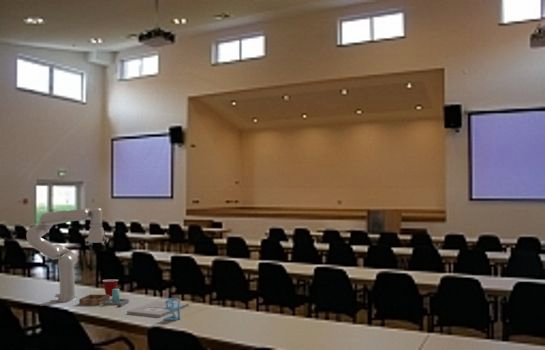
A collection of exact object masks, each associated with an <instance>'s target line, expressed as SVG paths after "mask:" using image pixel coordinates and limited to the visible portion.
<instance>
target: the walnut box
mask: <svg viewBox="0 0 545 350" xmlns="http://www.w3.org/2000/svg"><path fill="white" fill-rule="evenodd" d="M110 299H111V296H110V295H106V294H100V293H99V294H97V293H96V294H87V295H85V296H83V297H81V298H79V306H101V305H103V303H104V302H106V301H108V300H110Z"/></svg>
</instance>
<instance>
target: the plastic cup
mask: <svg viewBox="0 0 545 350" xmlns="http://www.w3.org/2000/svg"><path fill="white" fill-rule="evenodd" d="M118 282H119V279H114V278H113V279H103V280H102V283H103V287H104V292H105V295H110V297H112V289H118V288H117V287H118Z"/></svg>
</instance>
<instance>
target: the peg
mask: <svg viewBox="0 0 545 350" xmlns="http://www.w3.org/2000/svg"><path fill="white" fill-rule="evenodd" d="M111 297H112V298H111V299H112V302H111V303H120V302H121V301H120V299H121V298H120V288H116V289H112V296H111Z"/></svg>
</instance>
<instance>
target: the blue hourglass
mask: <svg viewBox="0 0 545 350" xmlns="http://www.w3.org/2000/svg"><path fill="white" fill-rule="evenodd" d="M164 301H165V302H166V305H167V306H166V307H165V309H168V310H170V311H171V313H170V314H172V315H170V316H167V317H164V318H163V320H164V321H178V320H181V309H180V308H181V306H179V303H181V301H180V299H178V298H176V297H169V298H167V299H166V300H164ZM168 302H170V303H172V306H169V307H168V304H167V303H168ZM174 302H178V306H175V305H174ZM175 309H177V311H176V312H177V316H176V313H175V312H173V310H175Z"/></svg>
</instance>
